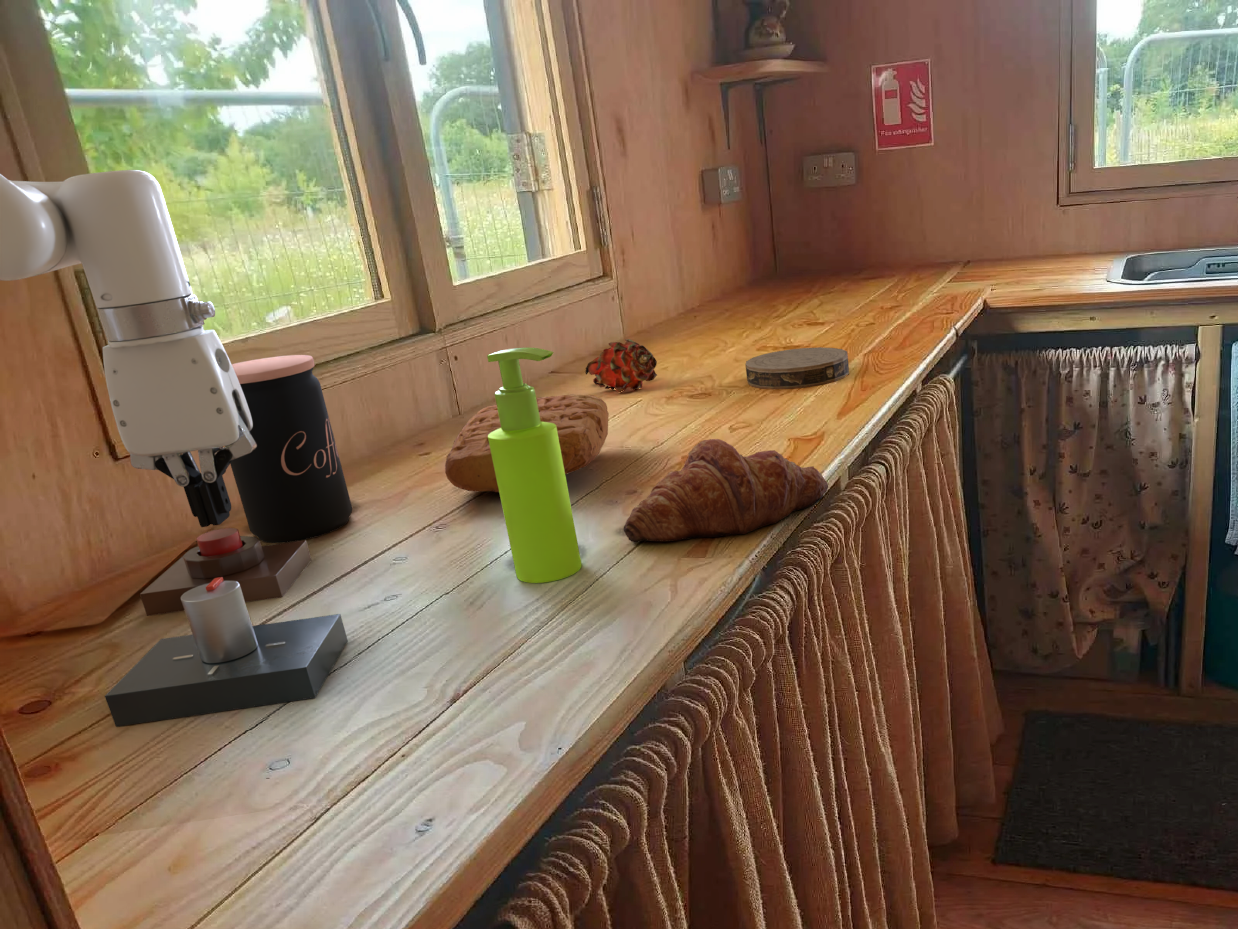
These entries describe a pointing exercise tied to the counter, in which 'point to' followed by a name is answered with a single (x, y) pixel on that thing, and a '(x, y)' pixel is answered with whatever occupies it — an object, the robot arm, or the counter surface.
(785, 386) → the tin can
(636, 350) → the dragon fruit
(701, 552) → the counter surface
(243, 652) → the tap knob
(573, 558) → the soap dispenser
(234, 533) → the button
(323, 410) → the coffee jar
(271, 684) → the panel
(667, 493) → the pastry
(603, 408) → the bread loaf
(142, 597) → the block
